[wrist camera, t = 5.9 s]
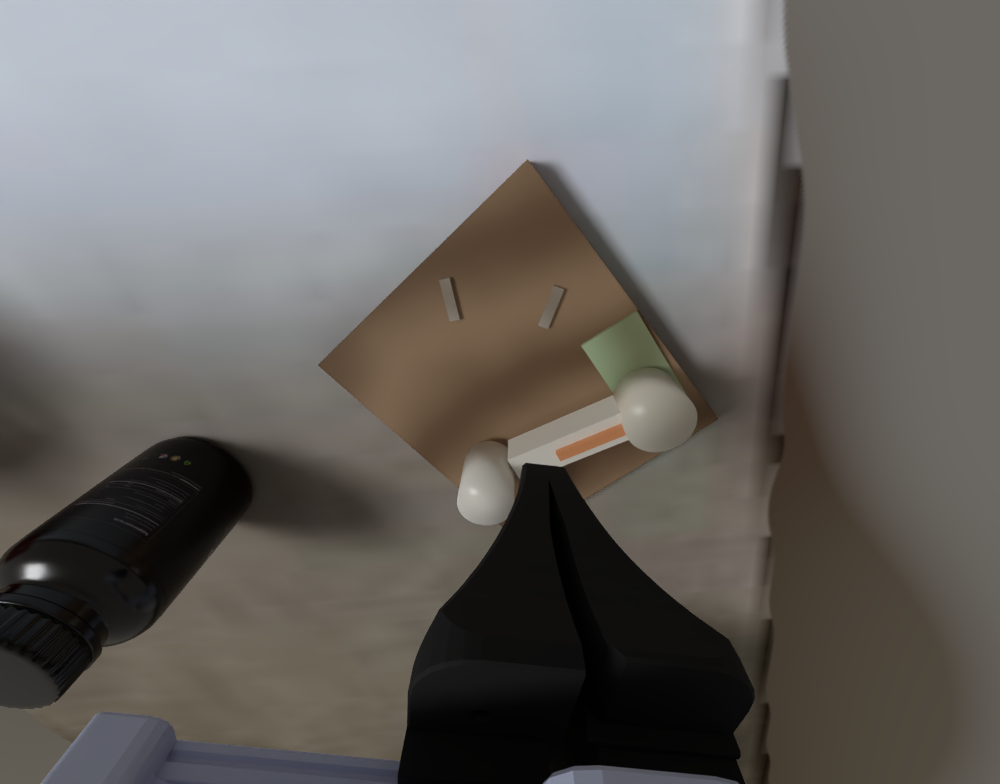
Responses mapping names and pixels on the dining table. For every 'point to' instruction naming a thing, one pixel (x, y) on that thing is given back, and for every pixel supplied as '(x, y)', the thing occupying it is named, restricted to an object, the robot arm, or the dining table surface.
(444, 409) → the brown wooden board
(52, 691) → the supplement bottle
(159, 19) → the dining table surface
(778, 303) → the dining table surface
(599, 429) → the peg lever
